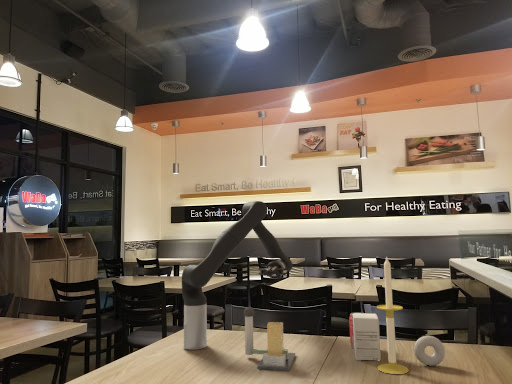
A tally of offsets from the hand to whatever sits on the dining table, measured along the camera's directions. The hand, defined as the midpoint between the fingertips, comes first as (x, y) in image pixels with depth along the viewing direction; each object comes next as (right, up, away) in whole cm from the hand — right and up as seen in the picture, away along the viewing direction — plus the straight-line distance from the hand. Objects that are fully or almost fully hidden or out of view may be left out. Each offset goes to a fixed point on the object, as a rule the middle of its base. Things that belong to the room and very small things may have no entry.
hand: (268, 273), depth 161 cm
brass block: (+2, -26, -23) cm, 35 cm away
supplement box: (+36, -27, -17) cm, 48 cm away
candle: (+40, -26, -30) cm, 57 cm away
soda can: (+36, -29, -5) cm, 46 cm away
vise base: (+2, -27, -20) cm, 34 cm away
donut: (+54, -26, -27) cm, 66 cm away
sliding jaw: (-2, -27, -17) cm, 32 cm away
